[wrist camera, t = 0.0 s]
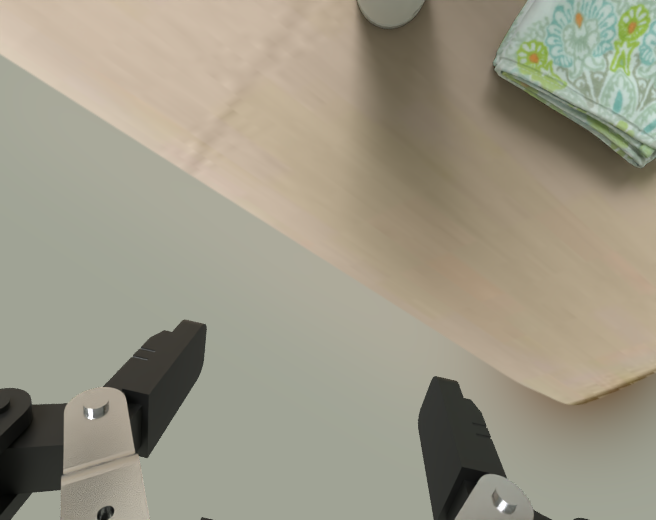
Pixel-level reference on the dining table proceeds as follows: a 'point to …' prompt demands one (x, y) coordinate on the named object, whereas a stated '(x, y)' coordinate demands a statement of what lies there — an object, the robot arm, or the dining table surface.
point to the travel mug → (390, 11)
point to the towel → (590, 67)
